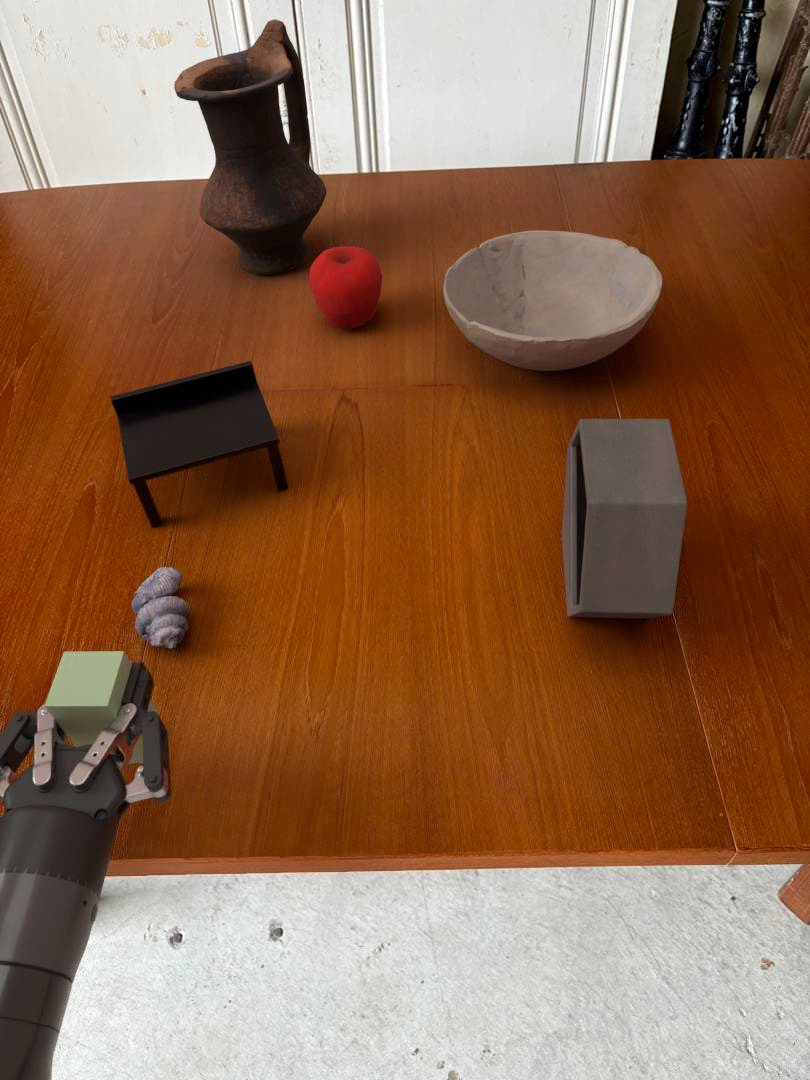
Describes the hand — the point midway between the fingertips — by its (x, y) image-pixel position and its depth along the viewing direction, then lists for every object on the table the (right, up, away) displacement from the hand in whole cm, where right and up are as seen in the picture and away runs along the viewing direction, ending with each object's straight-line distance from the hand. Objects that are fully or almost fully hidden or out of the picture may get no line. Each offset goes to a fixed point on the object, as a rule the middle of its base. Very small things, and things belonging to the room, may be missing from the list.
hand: (108, 668), depth 63 cm
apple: (+15, +40, +51) cm, 67 cm away
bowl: (+41, +35, +45) cm, 71 cm away
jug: (+3, +54, +64) cm, 84 cm away
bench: (0, +17, +32) cm, 36 cm away
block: (0, -6, +3) cm, 7 cm away
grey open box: (+43, +6, +18) cm, 47 cm away
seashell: (-1, +2, +18) cm, 19 cm away
